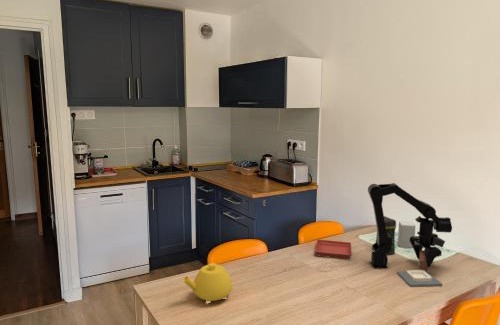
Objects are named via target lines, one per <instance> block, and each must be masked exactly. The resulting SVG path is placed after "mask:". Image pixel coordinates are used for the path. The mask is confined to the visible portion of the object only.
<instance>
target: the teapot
mask: <svg viewBox="0 0 500 325" xmlns="http://www.w3.org/2000/svg"><path fill="white" fill-rule="evenodd" d="M182 281H183V283H185V284H186V285H187V286H188V287H189V288H190V289H191V290H192V291H193V292H194V295H195V296H197V297H198V298H199V299H201V300H204V301H205V300H207V301H212V302H215V301H219V300H221V299H223V298H225V297H227V296H229V294H230V293H231V292H232V290H233V283H232V279H231V276H230V274H229V273H228V271H227V270H226V269H225V267H224V266H222V265H221V264H217V263H215V262H211V263H208V264H206V265H204V266H202V267H201V268H200V269H199V271H198V272H197V273H196V276H195V278H194V280H192V279H191V278H190V277H189V276H188V275H187V276H184V277H183V280H182Z"/></svg>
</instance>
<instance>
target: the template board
mask: <svg viewBox="0 0 500 325" xmlns="http://www.w3.org/2000/svg"><path fill="white" fill-rule="evenodd" d="M396 274H397V275H398V276H399V278H401V279H402V281H404V283H405V284H407V286H409V288H417V287H419V288H420V287H427V288H428V287H443V283H442V282H441V281H440V280H438V279H437V278H436V277H435V276H433V275H432V273H430V272H429V271H428V270H422V269H419V270H418V269H416V270H415V269H414V270H413V269H412V270H411V269H410V270H405V271H402V270H401V271H397V270H396Z"/></svg>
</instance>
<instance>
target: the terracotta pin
mask: <svg viewBox="0 0 500 325" xmlns="http://www.w3.org/2000/svg"><path fill="white" fill-rule="evenodd" d="M424 253H425V252H424V250H423V249H422V251H420V256H419V259H418V269H419V270H422V271H428V270H429V267H427V264H426V260H425V256H424Z"/></svg>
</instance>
